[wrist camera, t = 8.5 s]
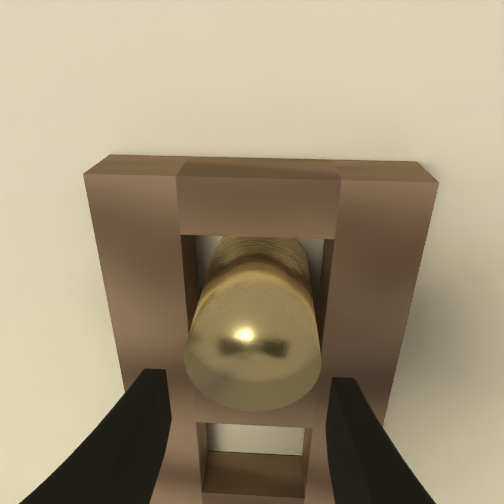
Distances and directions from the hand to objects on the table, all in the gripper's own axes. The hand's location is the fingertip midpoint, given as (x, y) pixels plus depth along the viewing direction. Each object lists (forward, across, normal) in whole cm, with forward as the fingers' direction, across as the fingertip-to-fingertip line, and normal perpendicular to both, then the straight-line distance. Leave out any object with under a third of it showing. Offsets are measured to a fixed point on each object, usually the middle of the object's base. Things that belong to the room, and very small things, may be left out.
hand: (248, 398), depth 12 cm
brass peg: (+7, 0, 0) cm, 7 cm away
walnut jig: (+7, 0, +5) cm, 9 cm away
